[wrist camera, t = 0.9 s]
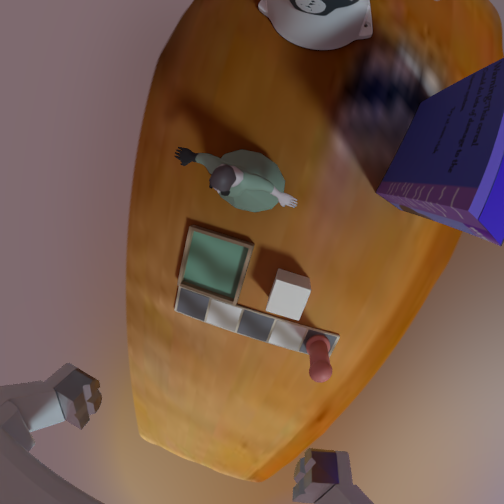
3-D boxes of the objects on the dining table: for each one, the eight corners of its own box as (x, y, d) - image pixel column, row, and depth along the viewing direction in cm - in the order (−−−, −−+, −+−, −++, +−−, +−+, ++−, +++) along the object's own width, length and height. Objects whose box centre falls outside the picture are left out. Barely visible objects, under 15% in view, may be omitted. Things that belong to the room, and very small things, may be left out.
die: (278, 268, 42) (276, 279, 37) (309, 277, 42) (311, 290, 37) (268, 296, 43) (265, 310, 39) (298, 305, 43) (298, 320, 38)
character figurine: (187, 182, 41) (119, 186, 23) (209, 133, 38) (151, 104, 21) (282, 226, 40) (274, 261, 23) (307, 175, 38) (319, 171, 21)
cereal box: (399, 209, 37) (502, 247, 14) (375, 192, 37) (469, 211, 14) (442, 120, 32) (544, 89, 9) (420, 102, 32) (515, 52, 9)
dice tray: (192, 224, 42) (189, 226, 41) (254, 244, 41) (253, 246, 40) (180, 281, 45) (177, 285, 43) (237, 301, 44) (235, 305, 43)
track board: (180, 284, 45) (178, 285, 44) (339, 335, 43) (339, 337, 43) (175, 309, 46) (174, 311, 46) (327, 357, 45) (328, 359, 44)
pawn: (311, 331, 43) (313, 365, 34) (333, 338, 43) (340, 371, 34) (302, 350, 44) (303, 385, 36) (324, 356, 44) (328, 390, 35)
